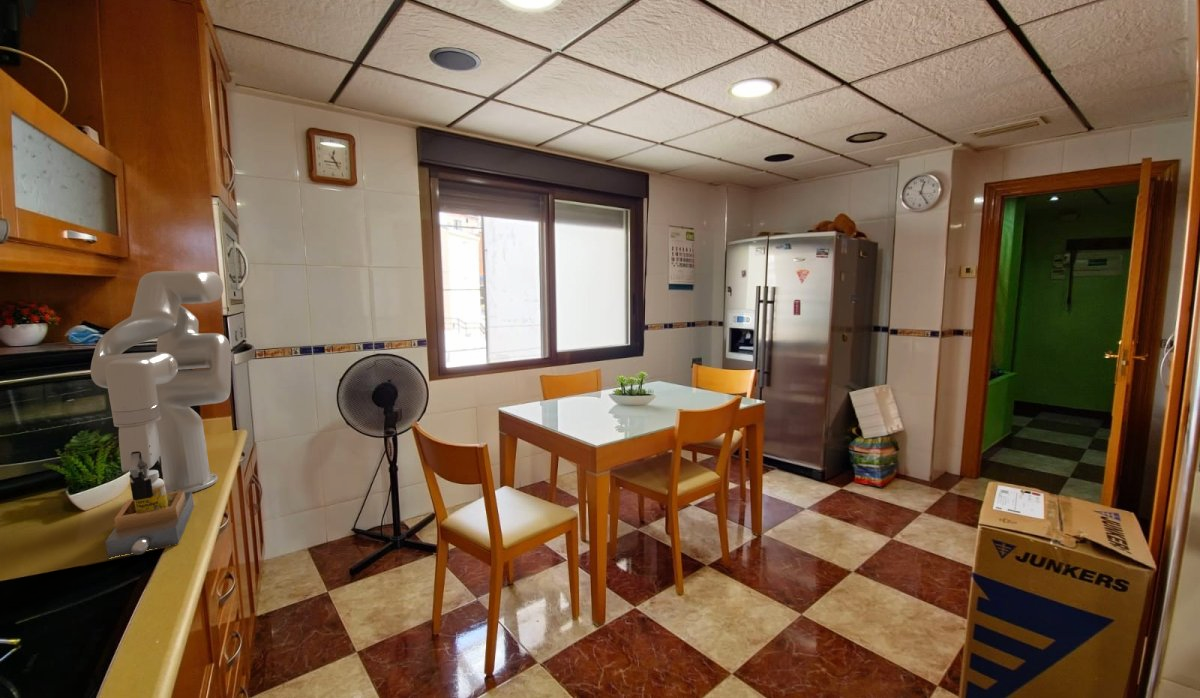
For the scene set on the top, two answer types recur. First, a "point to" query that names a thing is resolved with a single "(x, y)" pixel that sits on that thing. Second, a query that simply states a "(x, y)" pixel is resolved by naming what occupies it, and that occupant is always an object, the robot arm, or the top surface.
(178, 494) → the gray brown rimmed box
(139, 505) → the supplement bottle
